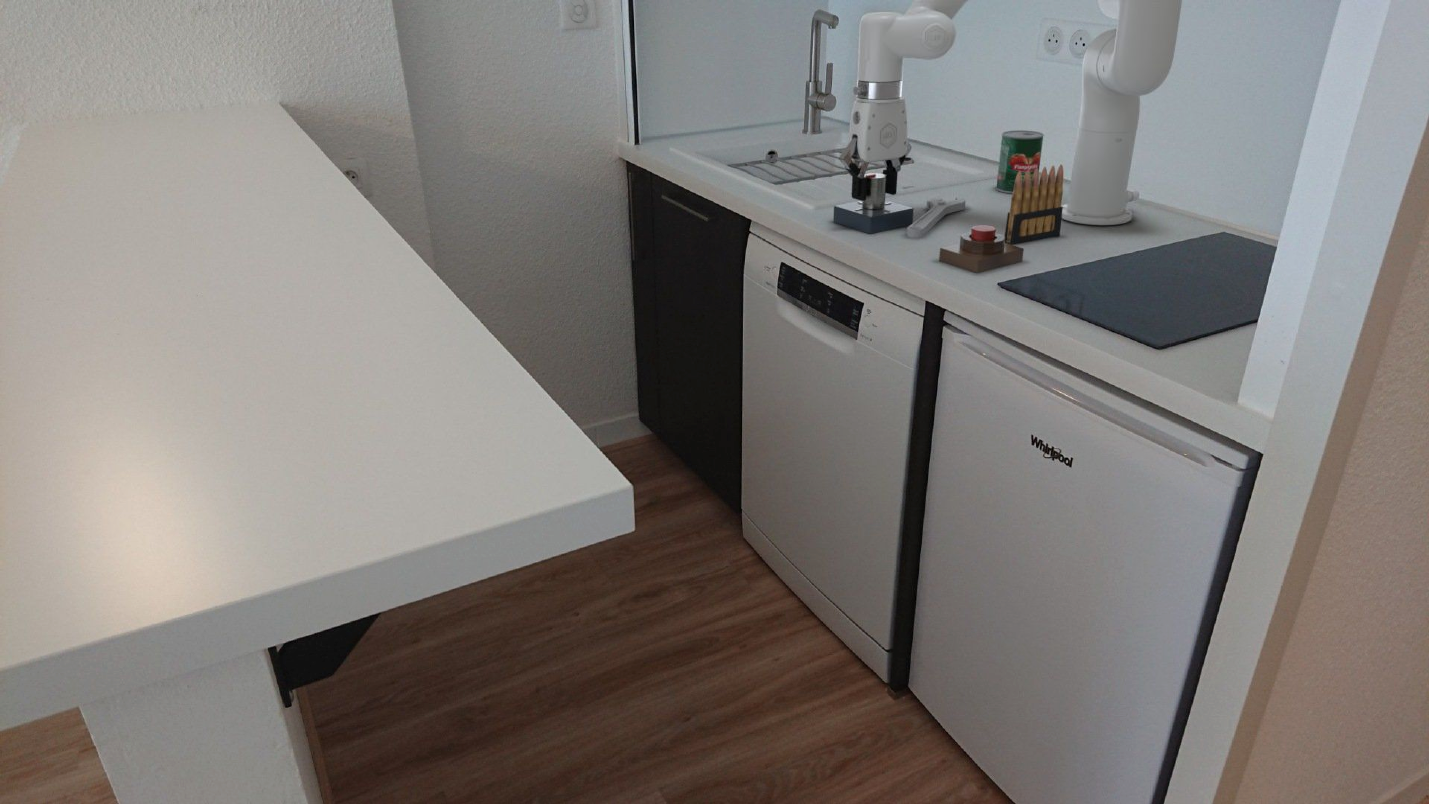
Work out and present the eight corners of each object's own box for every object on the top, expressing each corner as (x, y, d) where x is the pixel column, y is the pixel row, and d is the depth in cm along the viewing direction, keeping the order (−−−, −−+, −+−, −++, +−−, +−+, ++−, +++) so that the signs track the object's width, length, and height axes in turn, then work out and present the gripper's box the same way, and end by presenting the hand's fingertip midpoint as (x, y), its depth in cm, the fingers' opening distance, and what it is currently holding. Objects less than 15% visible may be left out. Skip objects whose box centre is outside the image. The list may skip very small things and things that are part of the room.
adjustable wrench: (920, 239, 161) (920, 229, 161) (884, 235, 164) (885, 225, 164) (968, 206, 180) (969, 197, 179) (936, 203, 183) (936, 193, 183)
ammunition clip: (1051, 233, 162) (1061, 162, 157) (1059, 236, 161) (1069, 164, 156) (1003, 242, 158) (1011, 170, 153) (1010, 245, 157) (1019, 172, 152)
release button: (982, 234, 150) (983, 223, 149) (999, 239, 147) (1000, 228, 146) (965, 238, 148) (966, 227, 147) (983, 243, 145) (984, 232, 145)
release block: (983, 250, 155) (985, 226, 153) (1022, 262, 148) (1025, 237, 147) (938, 261, 150) (940, 236, 148) (977, 273, 144) (979, 248, 142)
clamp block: (875, 213, 177) (875, 196, 176) (912, 224, 170) (913, 207, 168) (833, 222, 172) (833, 204, 171) (870, 234, 165) (870, 215, 163)
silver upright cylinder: (874, 202, 172) (876, 170, 170) (889, 207, 169) (891, 174, 167) (857, 206, 170) (858, 173, 168) (872, 210, 167) (874, 177, 165)
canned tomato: (1020, 196, 187) (1026, 138, 182) (987, 189, 193) (993, 133, 188) (1045, 189, 191) (1052, 133, 186) (1012, 183, 197) (1018, 128, 192)
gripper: (854, 98, 154) (850, 207, 162) (932, 88, 163) (924, 193, 170) (825, 93, 160) (822, 199, 168) (901, 84, 168) (895, 185, 176)
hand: (874, 195), depth 169 cm, fingers open, 6 cm apart
